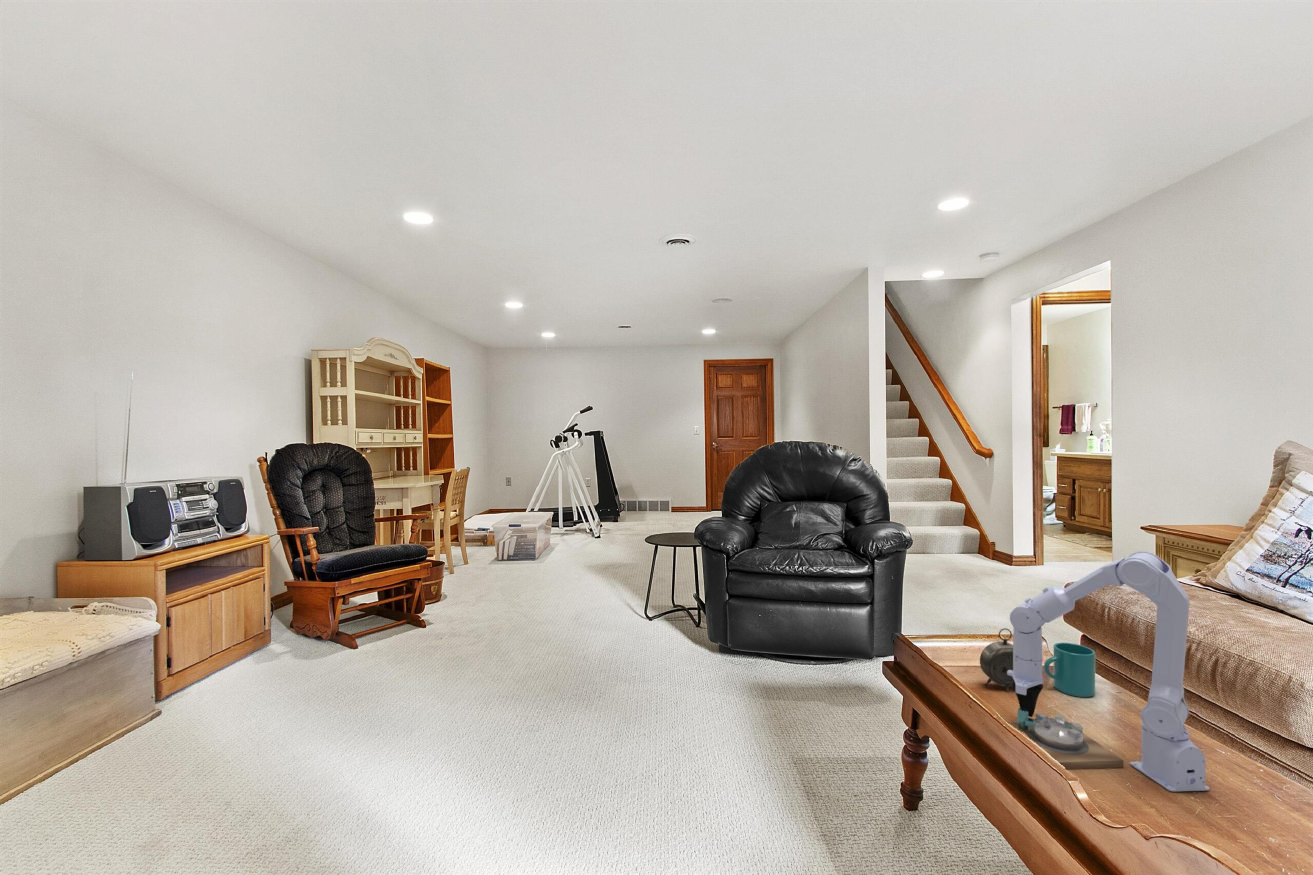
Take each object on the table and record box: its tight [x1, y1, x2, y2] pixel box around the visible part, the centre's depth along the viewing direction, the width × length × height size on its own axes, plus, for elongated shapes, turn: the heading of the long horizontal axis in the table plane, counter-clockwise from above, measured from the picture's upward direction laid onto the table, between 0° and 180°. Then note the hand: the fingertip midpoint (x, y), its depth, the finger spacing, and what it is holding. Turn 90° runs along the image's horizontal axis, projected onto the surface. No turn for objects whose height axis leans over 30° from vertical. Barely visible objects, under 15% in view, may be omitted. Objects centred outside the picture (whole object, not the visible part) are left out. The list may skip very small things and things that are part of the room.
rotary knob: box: [1016, 707, 1084, 750], centre depth 129 cm, size 12×9×4 cm
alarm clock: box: [979, 627, 1014, 693], centre depth 157 cm, size 11×5×16 cm, turn 84°
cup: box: [1043, 642, 1096, 698], centre depth 156 cm, size 9×12×11 cm
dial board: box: [1009, 722, 1124, 770], centre depth 128 cm, size 16×16×2 cm
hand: (1027, 714), depth 136 cm, fingers closed
